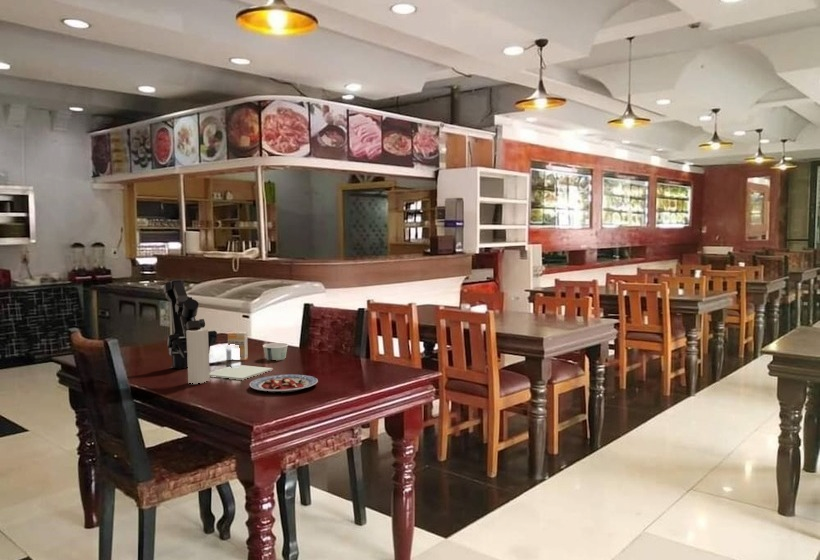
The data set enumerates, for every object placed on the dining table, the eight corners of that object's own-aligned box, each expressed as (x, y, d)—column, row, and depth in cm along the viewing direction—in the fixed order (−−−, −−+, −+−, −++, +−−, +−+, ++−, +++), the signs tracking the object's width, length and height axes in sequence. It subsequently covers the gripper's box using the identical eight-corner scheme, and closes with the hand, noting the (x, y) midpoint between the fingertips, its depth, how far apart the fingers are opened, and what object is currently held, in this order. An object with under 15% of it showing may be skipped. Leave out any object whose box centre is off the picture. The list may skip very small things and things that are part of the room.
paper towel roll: (184, 384, 244) (182, 330, 242) (194, 380, 249) (192, 328, 248) (200, 385, 242) (198, 331, 240) (209, 381, 247) (208, 328, 246)
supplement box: (227, 360, 289) (226, 333, 288) (231, 358, 294) (230, 331, 293) (245, 360, 289) (244, 333, 288) (248, 358, 293) (247, 331, 292)
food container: (283, 361, 286) (282, 347, 286) (258, 361, 288) (258, 347, 288) (292, 356, 298) (291, 343, 298) (268, 356, 300) (268, 342, 299)
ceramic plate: (250, 398, 222) (250, 390, 222) (248, 382, 246) (248, 375, 246) (322, 392, 229) (322, 385, 229) (313, 377, 254) (313, 370, 253)
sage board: (204, 376, 257) (203, 373, 257) (236, 366, 275) (236, 364, 275) (242, 380, 249) (242, 378, 249) (272, 370, 267) (272, 368, 267)
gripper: (167, 314, 243) (174, 346, 235) (215, 311, 253) (223, 341, 244) (164, 331, 251) (170, 363, 242) (211, 327, 260) (219, 357, 252)
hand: (196, 356), depth 245 cm, fingers open, 9 cm apart
